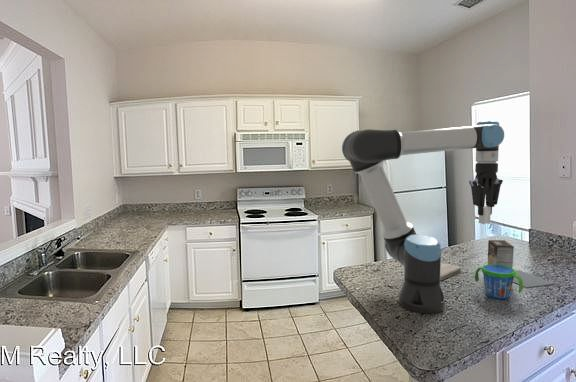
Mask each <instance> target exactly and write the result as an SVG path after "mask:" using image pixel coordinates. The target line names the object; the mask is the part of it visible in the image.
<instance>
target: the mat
mask: <svg viewBox="0 0 576 382" xmlns="http://www.w3.org/2000/svg"><path fill="white" fill-rule="evenodd" d="M515 272H516V273H517V274H518V275H519V276H520V277H521V279H522V282H523V288H525V289H530V288H537V287H543V286H544V287H545V286H553V285H555V283H553V282H551V281H549V280H546V279H544V278H541V277H538V276H536V275H533V274H530V273H528V272H525V271H523V270H515ZM513 284H516V285H519V286H520V284H519V281H518V279H517V278H516V277H514V279H513Z"/></svg>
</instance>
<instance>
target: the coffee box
mask: <svg viewBox="0 0 576 382" xmlns="http://www.w3.org/2000/svg"><path fill="white" fill-rule="evenodd" d="M487 245H488V249H487V265H490V264H494V265H503V266H507V267H510V268H513V266H514V265H513V264H514V249H515V248H514V247H515V246H514V245H513V244H511V243H510V242H508V241H506V240H504V239H501V240H499V239H498V240H497V239H496V240H494V239H493V240H492V239H491V240H488V244H487Z"/></svg>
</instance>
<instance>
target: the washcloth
mask: <svg viewBox="0 0 576 382" xmlns="http://www.w3.org/2000/svg"><path fill="white" fill-rule="evenodd" d="M460 273H462V267H461V266H459V265H452V264H450V263H446V262H442V261H441V266H440V281H443V280H446V279H448V278H450V277H452V276H454V275H456V274H460Z"/></svg>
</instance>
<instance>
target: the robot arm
mask: <svg viewBox="0 0 576 382" xmlns="http://www.w3.org/2000/svg"><path fill="white" fill-rule="evenodd" d="M504 138H505V130H504V128H503V127H502V126H500V122H499V121H497V120H484V121H483V120H482V121H478V122H477V123H476V125H469V126H460V127H459V126H456V127H447V128H436V129H435V128H434V129H424V130H413V131H401V132H400V131H399V130H398V129H363V130H356V131H352V132H351V133H349V134H348V135H347V136H346V137H345V138H344V139H343V142H342V145H341V151H342V154H343V157H344V159H346V160H347V161H348V162H349V163H350V166H351V168H352V170H353V172H354V173H355V174H358V175H360V176H359V177H360V178H361V180H362V183H363V185H364V187H365V189H366V191H367V194H368V196H369V198H370V201H371V203H372V206H373V208H374V209H375V211H376V215H377V216H378V218H379V220H380V222H381V225H382V226H383V227H382V228H383V229H384V231H383V232H382V233H383V234H382V236H383V239H384V247H385V251H386V252H387V254H388V255H389V256H390V257H391V258H392V259H393V260H395V261H396V262H398V263H399V264H401V265H402V266H403V267H404V272H403V273H404V276H403V277H404V280H403V283H402V286H401V290H400V291H399V292H400V293H399V294H398V303H399V305H400V306H401V307H403V308H404V309H406V310H408V311H411V312H414V313H419V314H437V313H440V312H442V311H444V310H445V309H446V299H445V295H444V293H443V290H442V287H441V280H440V266H441V262H442V261H441V259H442V257H441V256H442V248H441V247H442V246H441V243H440V242H439V241H438V239H436V238H434V237H432V236H430V235H425V234H417V233H416V232H417V231H416V230H415V228H414V226H413V224H412V223H411V222H408V221H407V220H406V217H405V216H404V213H403V210H402V209H401V206H400V204H399V201H398V199H397V197H396V195H395V192H394V189H393V188H392V186H391V183H390V180H389V178H388V177H387V173H386V172H385V170H384V167H383V163H384V161H389V160H397V159H400V157H401V156H407V155H415V154H416V155H418V154H427V153H428V154H429V153H438V152H446V151H447V152H448V151H457V150H469V149H475V162H476V163H475V168H474V169H475V170H474V171H475V174H476V175H475V177H474V179H473V180H469V181H468V182H469V185H470V189H471V196H472V205H474V206H476V207H477V215H478V224H480V225H481V224H482V225H486V224H488V225H490V224H491V215H492V214H493V208H494V207H495V206H496V205H497V204H498V202H499V195H500V191H501V186H502V184H503V181H504V180H503V179H500V178H498V175H497V173H498V171H499V163H497V162H499V150H500V149H499V147H500V146H499V145H501V144H502V143H503V141H504Z"/></svg>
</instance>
